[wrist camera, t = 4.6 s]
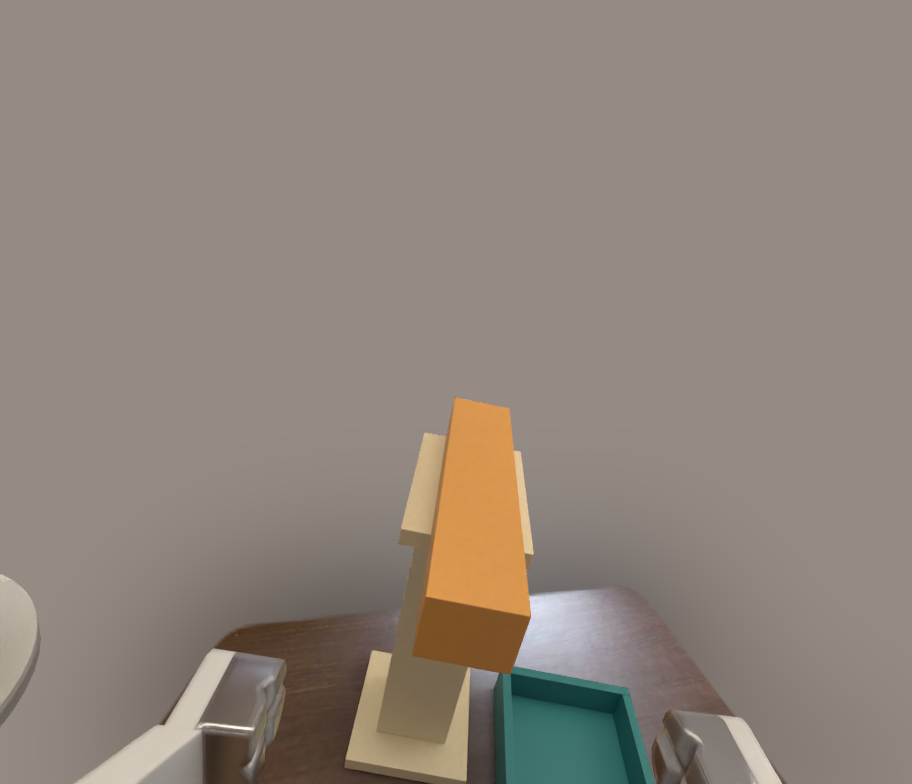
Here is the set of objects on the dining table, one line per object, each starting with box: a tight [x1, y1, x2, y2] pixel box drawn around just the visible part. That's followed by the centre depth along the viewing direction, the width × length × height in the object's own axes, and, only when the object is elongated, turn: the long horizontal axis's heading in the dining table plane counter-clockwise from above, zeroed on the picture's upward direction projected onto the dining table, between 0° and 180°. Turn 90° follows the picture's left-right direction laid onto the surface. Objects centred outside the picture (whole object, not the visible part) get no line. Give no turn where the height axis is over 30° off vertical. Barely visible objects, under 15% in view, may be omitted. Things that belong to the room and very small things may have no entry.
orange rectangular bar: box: [412, 397, 531, 675], centre depth 30 cm, size 20×4×4 cm, turn 178°
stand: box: [344, 433, 534, 784], centre depth 39 cm, size 12×10×26 cm
